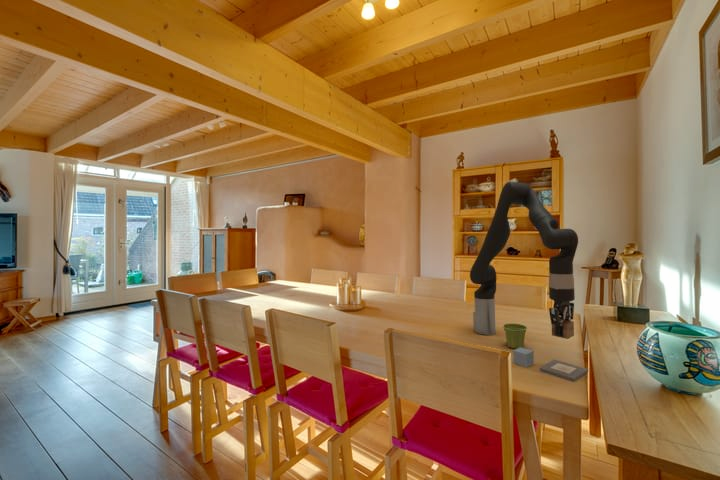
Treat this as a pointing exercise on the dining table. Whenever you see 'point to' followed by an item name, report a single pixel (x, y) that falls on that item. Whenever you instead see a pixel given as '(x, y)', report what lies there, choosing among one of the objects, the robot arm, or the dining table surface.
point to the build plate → (564, 370)
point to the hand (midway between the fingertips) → (562, 334)
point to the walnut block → (565, 329)
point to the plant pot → (515, 335)
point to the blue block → (523, 357)
